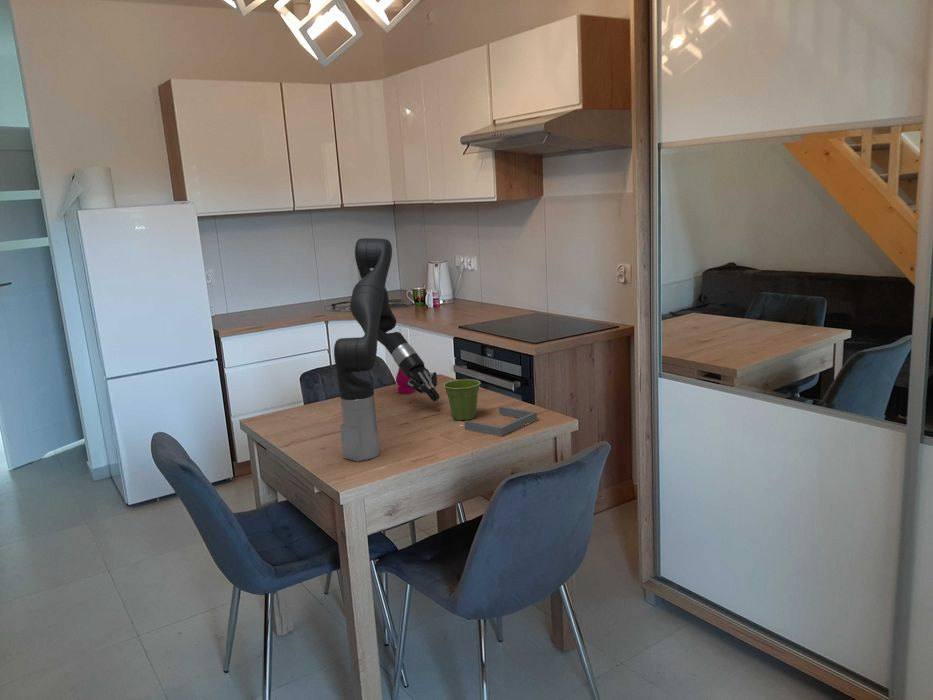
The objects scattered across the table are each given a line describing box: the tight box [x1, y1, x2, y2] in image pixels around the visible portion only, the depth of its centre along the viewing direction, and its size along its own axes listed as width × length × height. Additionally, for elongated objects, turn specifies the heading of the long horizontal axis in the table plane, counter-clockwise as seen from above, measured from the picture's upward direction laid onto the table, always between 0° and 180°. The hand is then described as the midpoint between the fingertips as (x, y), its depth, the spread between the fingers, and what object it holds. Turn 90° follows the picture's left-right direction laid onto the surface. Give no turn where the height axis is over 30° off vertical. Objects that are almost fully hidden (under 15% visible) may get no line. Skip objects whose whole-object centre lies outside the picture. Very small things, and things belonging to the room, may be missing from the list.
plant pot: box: [443, 378, 481, 421], centre depth 227 cm, size 12×12×11 cm
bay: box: [463, 406, 538, 437], centre depth 218 cm, size 18×14×2 cm
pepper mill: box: [395, 367, 416, 394], centre depth 262 cm, size 7×7×20 cm
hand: (437, 399), depth 235 cm, fingers closed
